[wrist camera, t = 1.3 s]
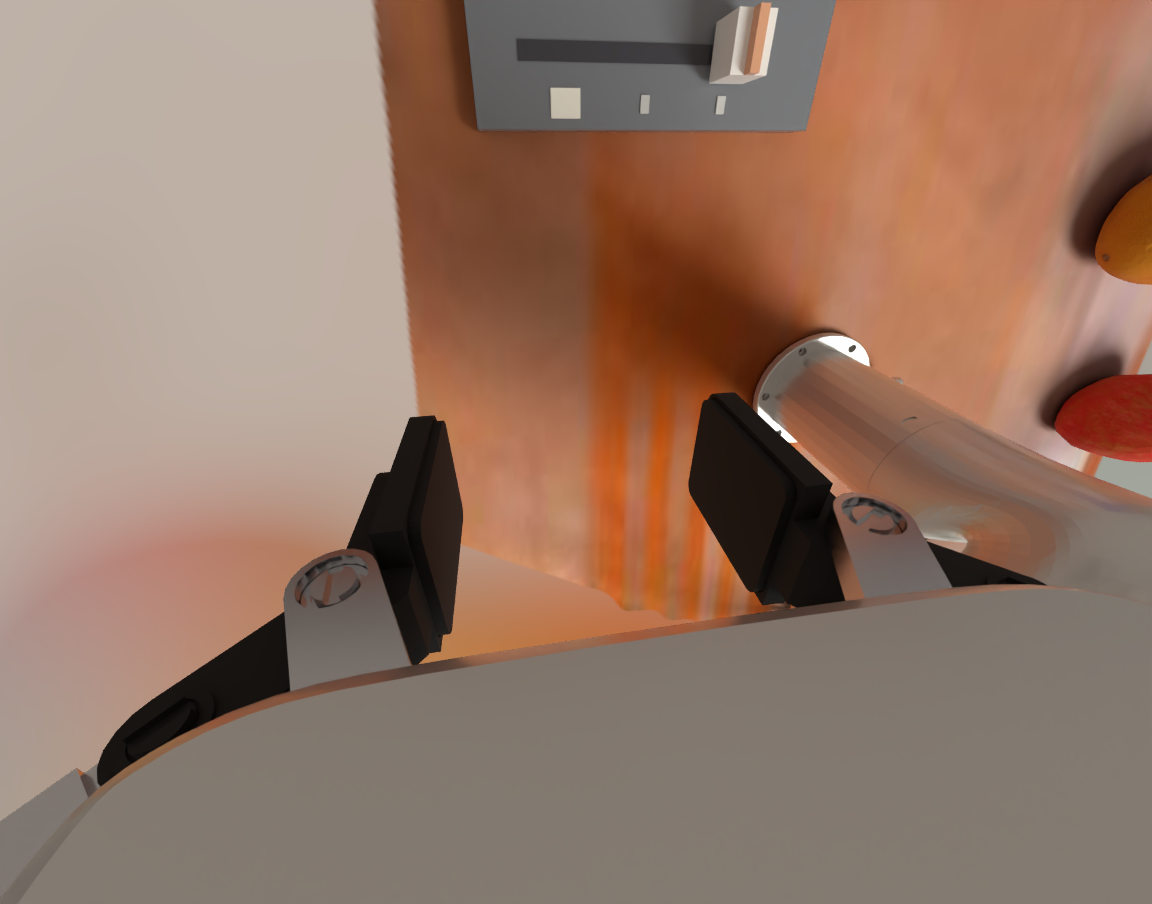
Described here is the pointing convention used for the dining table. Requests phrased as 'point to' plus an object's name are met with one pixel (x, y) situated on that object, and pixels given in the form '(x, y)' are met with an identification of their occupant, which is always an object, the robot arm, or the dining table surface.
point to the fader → (743, 44)
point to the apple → (1111, 418)
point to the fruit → (1128, 237)
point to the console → (636, 66)
